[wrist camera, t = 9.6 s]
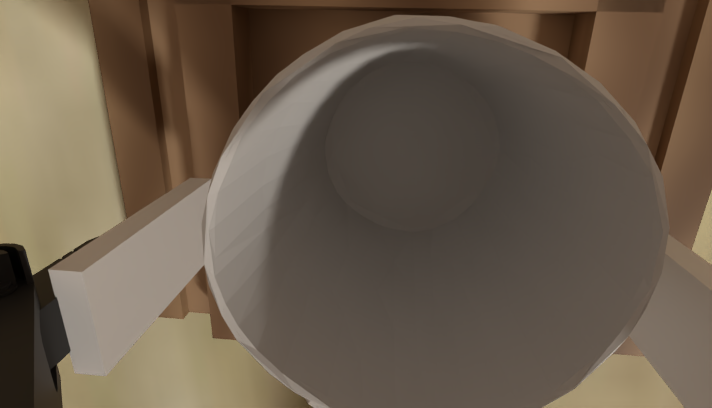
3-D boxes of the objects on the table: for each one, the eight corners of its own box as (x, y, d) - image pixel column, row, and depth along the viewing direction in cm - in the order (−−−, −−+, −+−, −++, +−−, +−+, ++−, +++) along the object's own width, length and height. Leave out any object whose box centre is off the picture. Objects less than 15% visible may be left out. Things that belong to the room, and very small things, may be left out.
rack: (161, 298, 23) (130, 330, 20) (106, -48, 17) (53, -64, 15) (637, 334, 21) (671, 376, 18) (753, -43, 15) (826, -60, 13)
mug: (343, -8, 16) (264, -78, 7) (567, 80, 16) (793, 134, 7) (255, 272, 20) (134, 465, 11) (430, 336, 21) (455, 576, 11)
